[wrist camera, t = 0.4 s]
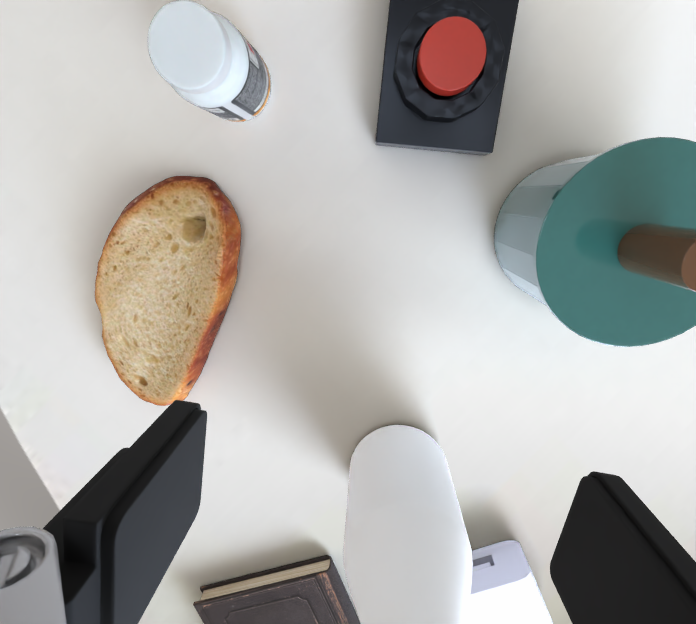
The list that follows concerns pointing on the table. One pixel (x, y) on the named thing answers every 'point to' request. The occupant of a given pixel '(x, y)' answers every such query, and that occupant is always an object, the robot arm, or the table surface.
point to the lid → (623, 245)
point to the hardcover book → (280, 597)
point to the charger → (504, 587)
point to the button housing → (431, 109)
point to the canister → (528, 221)
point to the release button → (451, 56)
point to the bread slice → (167, 285)
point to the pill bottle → (208, 61)
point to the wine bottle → (405, 532)
